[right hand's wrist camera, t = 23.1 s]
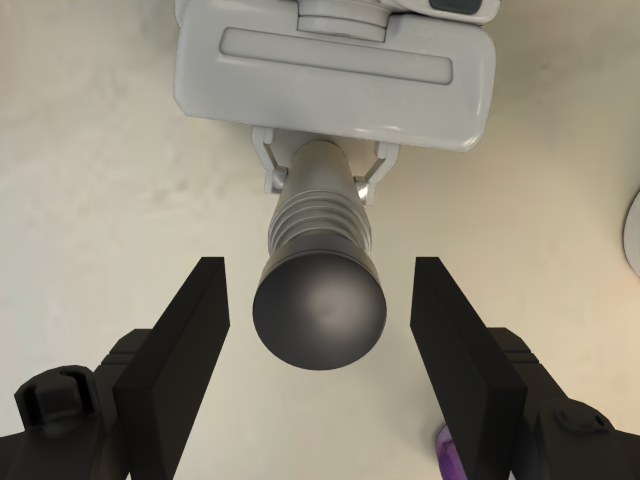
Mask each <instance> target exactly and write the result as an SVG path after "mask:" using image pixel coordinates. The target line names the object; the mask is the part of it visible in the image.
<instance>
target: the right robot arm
mask: <svg viewBox="0 0 640 480" xmlns="http://www.w3.org/2000/svg"><path fill="white" fill-rule="evenodd" d="M229 327H230V320H229V308H228V297H227V286H226V274H225V263H224V257H201V259H200V260H199V262H198V263H197V265H196V266H195V268H194V269H193V271H192V272H191V273H190V275H189V276H188V278H187V279H186V281H185V282H184V284H183V285H182V287H181V288H180V289H179V291H178V292H177V294H176V295H175V297H174V298H173V300H172V301H171V303H170V304H169V305H168V307H167V308H166V310H165V311H164V313H163V314H162V316H161V317H160V319H159V320H158V322H157V323H156V324H155V326H154V327H153V329H134V330H133V331H131V332H130V333H128V334H127V335H125V336H124V337H122V338H121V339H119V340H118V342H117V343H116V344H115V345H114V347H113V348H112V349H111V351H110V352H109V354H107V356H106V357H105V358H104V359H103V361H102V362H101V365H99V366H98V367H97V368H96V370H95V371H94V372H92V371H91V370H90V369H88V368H87V367H84V366H79V365H70V366H61V367H57V368H54V369H50V370H47V371H45V372H43V373H41V374H38V375H36V376H34V377H32V378H31V379H30V380H28V381H27V382H26V383H24V384H23V385H21V387H20V388H19V389H18V390H17V392H16V393H15V394H14V397H15V400H16V403H17V406H18V410H19V413H20V416H21V419H22V422H23V425H24V428H25V431H24V432H21V433H17V434H13V435H9V436H4V437H0V480H126V478H127V476H128V474H129V472H130V475H131V480H173V477H174V475H175V472H176V469H177V467H178V464H179V461H180V459H181V456H182V453H183V451H184V448H185V445H186V443H187V440H188V437H189V435H190V432H191V429H192V426H193V424H194V421H195V418H196V416H197V413H198V410H199V408H200V405H201V402H202V400H203V397H204V394H205V392H206V389H207V386H208V384H209V381H210V378H211V376H212V373H213V370H214V368H215V365H216V362H217V359H218V357H219V354H220V351H221V349H222V346H223V343H224V341H225V338H226V335H227V333H228V330H229ZM410 327H411V330H412V333H413V335H414V338H415V341H416V343H417V346H418V349H419V351H420V354H421V357H422V359H423V362H424V365H425V368H426V370H427V373H428V376H429V378H430V381H431V384H432V386H433V389H434V392H435V394H436V397H437V400H438V402H439V405H440V408H441V410H442V413H443V416H444V418H445V421H446V424H447V426H448V429H449V432H450V435H451V437H452V440H453V443H454V445H455V448H456V451H457V453H458V456H459V459H460V461H461V464H462V467H463V469H464V472H465V475H466V477H467V480H509V475H510V471H511V472H512V474H513V476H514V478H515V480H640V436H639V435H635V434H631V433H626V432H622V431H619V430H615V428H614V427H613V425H612V424H611V423H610V421H609V420H608V419H607V418H606V417H605V416H604V415H602V414H601V413H600V412H599V411H598V410H596V409H594V408H592V407H590V406H589V405H587V404H585V403H583V402H579V401H576V400H573V399H570V398H568V397H567V395H566V394H565V393H564V392H563V390H562V389H561V388H560V387H559V385H558V384H557V383H556V382H555V380H554V379H553V378H552V377H551V375H550V374H549V373H548V372H547V370H546V369H545V368H544V366H543V365H542V364H539V360H538V359H537V358H536V356H535V355H534V354H533V353H531V350H530V349H529V348H528V346H527V345H526V344H525V343H524V341H523V340H522V339H521V338H520V337H519V336H517V335H516V334H514V333H513V332H511V331H510V330H508V329H507V328H487V327H486V326H485V324H484V323H483V322H482V320H481V319H480V317H479V316H478V314H477V313H476V311H475V310H474V308H473V307H472V305H471V304H470V303H469V301H468V300H467V298H466V297H465V295H464V294H463V292H462V291H461V289H460V288H459V287H458V285H457V284H456V282H455V281H454V279H453V278H452V276H451V275H450V273H449V272H448V271H447V269H446V268H445V266H444V265H443V263H442V262H441V260H440V259H439V257H416V263H415V274H414V286H413V297H412V308H411V320H410Z"/></svg>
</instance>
